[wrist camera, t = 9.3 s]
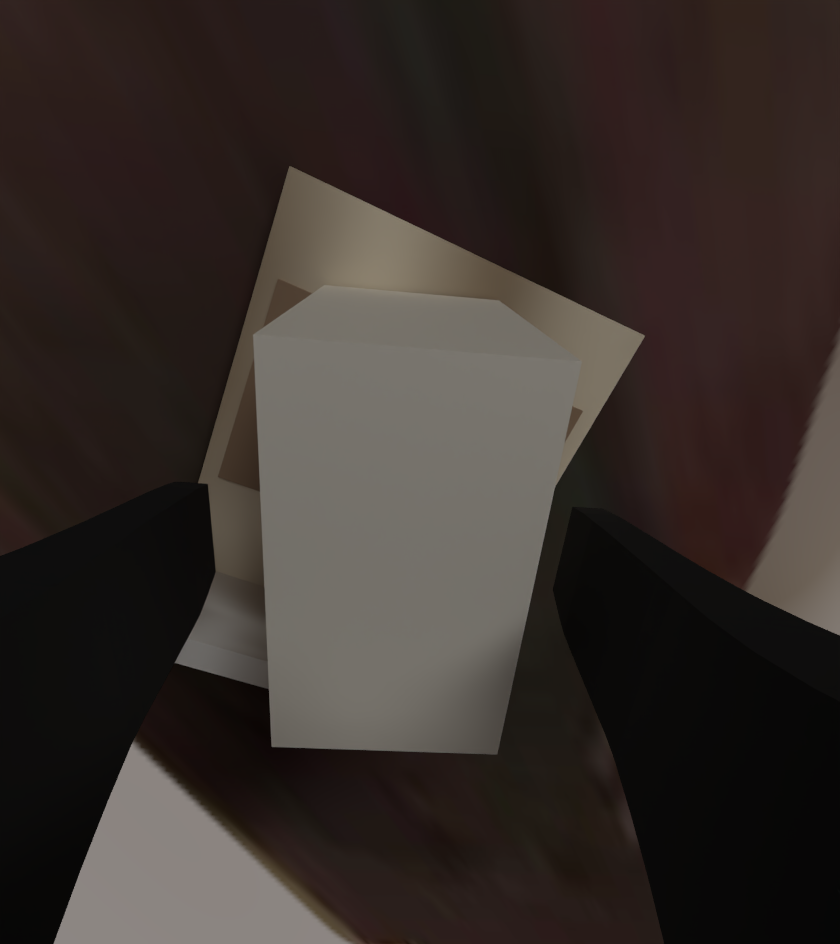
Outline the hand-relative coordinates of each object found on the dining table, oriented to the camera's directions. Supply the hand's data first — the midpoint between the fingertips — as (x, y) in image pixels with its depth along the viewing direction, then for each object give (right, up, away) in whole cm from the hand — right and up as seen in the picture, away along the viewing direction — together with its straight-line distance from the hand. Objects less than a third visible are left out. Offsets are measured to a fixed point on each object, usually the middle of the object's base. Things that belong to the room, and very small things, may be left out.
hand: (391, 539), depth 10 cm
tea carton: (0, +2, +5) cm, 5 cm away
